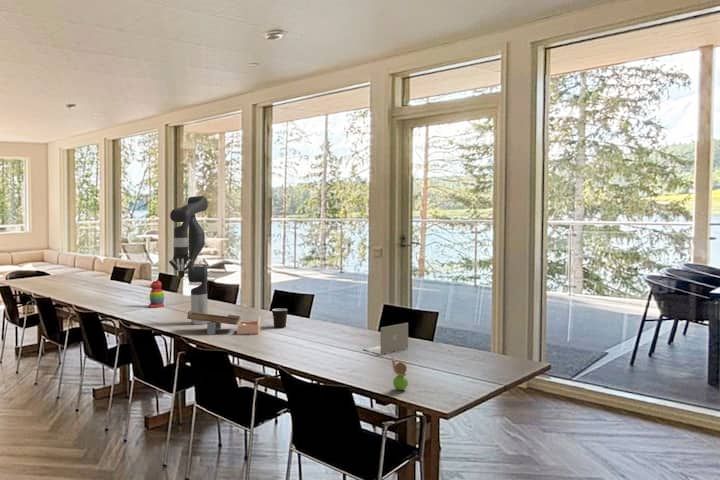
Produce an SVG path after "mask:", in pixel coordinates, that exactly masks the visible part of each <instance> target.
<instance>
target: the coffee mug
mask: <svg viewBox="0 0 720 480" xmlns="http://www.w3.org/2000/svg"><path fill="white" fill-rule="evenodd" d="M271 312H272V320H273V328H274V327H275V328H274V329H285V328H286V326H287V316H288V308H284V307H283V308H280V307H279V308H272V309H271ZM284 327H285V328H284Z"/></svg>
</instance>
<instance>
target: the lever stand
mask: <svg viewBox="0 0 720 480" xmlns="http://www.w3.org/2000/svg"><path fill="white" fill-rule="evenodd" d="M206 324H207V326H206V327H207V328H206V329H207V331H206V333H207V336H208V335H209V336H210V335H211V336H212V335H216V330H219V329H222V323H216V322H207V323H206Z"/></svg>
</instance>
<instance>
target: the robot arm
mask: <svg viewBox="0 0 720 480" xmlns="http://www.w3.org/2000/svg"><path fill="white" fill-rule="evenodd" d="M208 208H209V202H208V198H207V197H205V196H203V195H195V196H190V197H188V199H187V201H186V204H185V205H183V206H181V207H177V208H173V209H172V210H171V212H170V213H169V218H170V220H171V221H172V222H173V223H181V225H180V226H179V225H178V226H175V227H174V229H173V257H172V259H171V260H169V261H168V262H169V264H170V266H172V268H173V269H174V270H175V271H177V272H178V273H177V274H178V277H179V278H180V279H183V278H184V277H185V271H187V279H188V280H187V281H188V282H189V283H201V284H200V285H198V286H196V287H193V288H191V290H190V310H192V312H197V313H205V314H209V313H208V307H209V306H208V272H209V271H208V268H207V266H205V265H204V266H203V265H201V266H199V265H197V266H196V265H195V262H196V260H197V258H198V256H199V254H200V253H201V252H202V250H203V248H204V247H205V244H206V240H205V239H206V234H205V231H204V229H203V228H202V226H201V224H200V223H199V222H198V220H197V218H196V214H198V213H202V212H205V211H207V209H208ZM186 264H187V265H186ZM207 322H208V321H200V320H192V319H190V324H191V325H206V324H207Z"/></svg>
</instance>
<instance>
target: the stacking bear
mask: <svg viewBox="0 0 720 480" xmlns="http://www.w3.org/2000/svg"><path fill="white" fill-rule="evenodd" d="M149 287H150V288H151V289H150V292H149V293H150V294H149V302H150V303H149V304H148V309H157V308H163V307H165V303H164V302H165V293H164V291H163V289H162V282H161V281H160V280H158V279H157V280H153V282H152V283H151V284H150V285H149Z"/></svg>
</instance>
